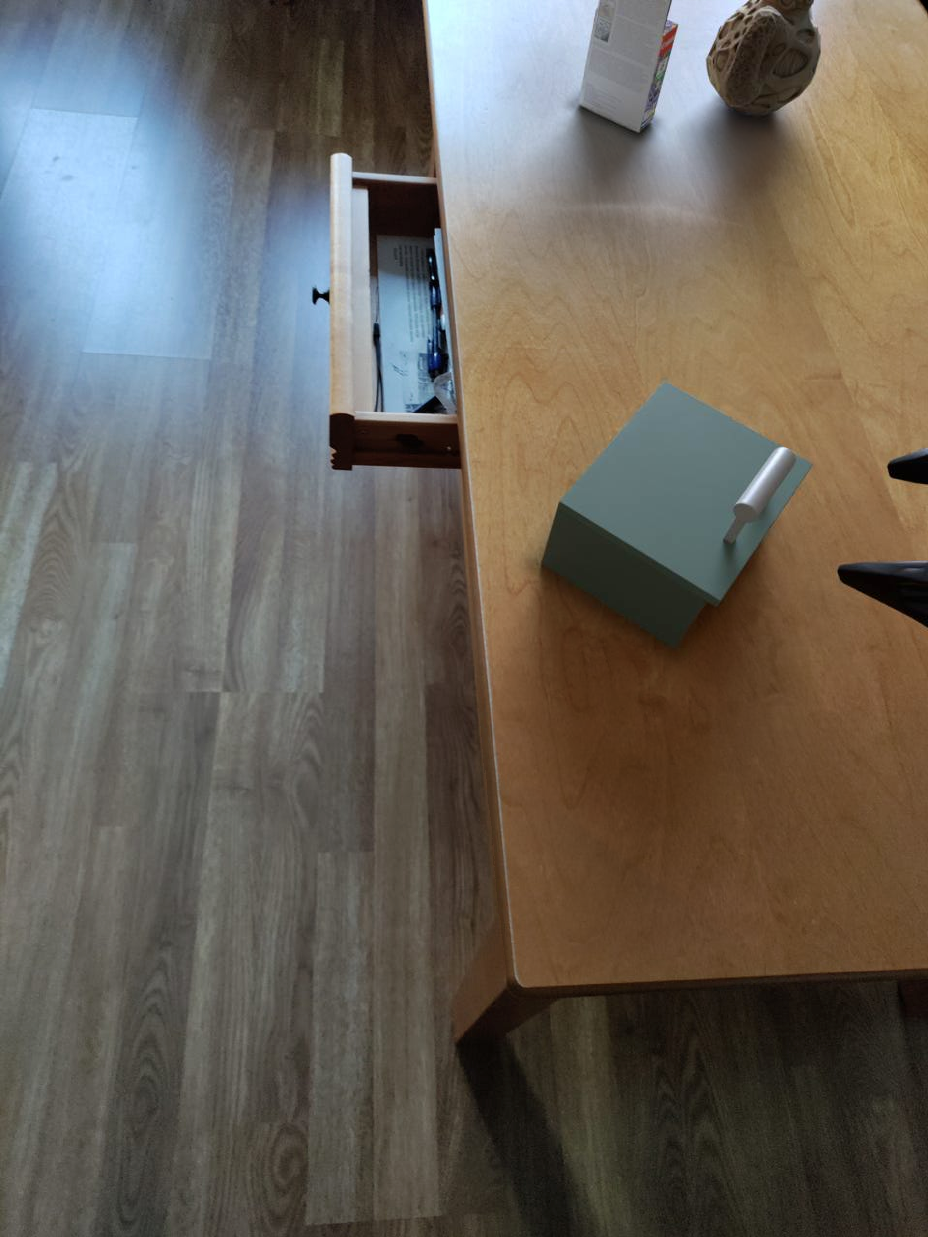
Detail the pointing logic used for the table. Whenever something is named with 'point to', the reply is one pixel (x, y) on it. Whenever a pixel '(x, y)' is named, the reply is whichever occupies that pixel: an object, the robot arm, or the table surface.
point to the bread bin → (620, 580)
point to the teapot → (765, 55)
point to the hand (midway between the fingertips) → (865, 519)
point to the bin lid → (686, 491)
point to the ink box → (627, 60)
